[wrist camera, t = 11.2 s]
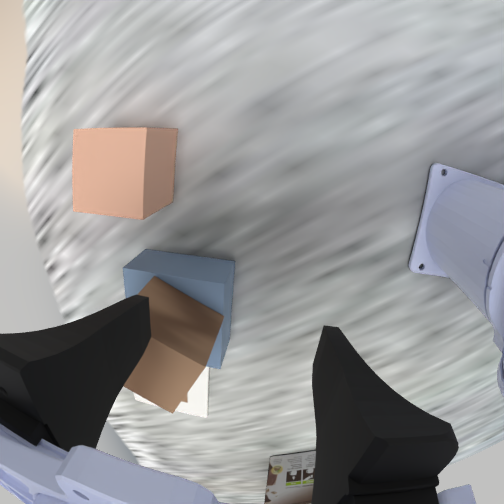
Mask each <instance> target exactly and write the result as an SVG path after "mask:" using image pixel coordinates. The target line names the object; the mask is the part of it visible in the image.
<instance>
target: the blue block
mask: <svg viewBox="0 0 504 504" xmlns="http://www.w3.org/2000/svg"><path fill="white" fill-rule="evenodd" d="M234 269H235V261H230V260H223V259H215V258H208V257H200V256H193V255H185V254H178V253H170V252H163V251H156V250H149V249H145V250H144V251H143V252H141V253H140V254H139V255H138V256H137V257H135V258H134V259H133V260H132V261H130V262H129V263H128V264H127V265H126V266H124V267H123V275H124V286H125V296H126V298H128V297H131V296H133V295H137V294H138V293H139V292H140V291H141V290H142V289H143V288H144V287H145V285H146V284H147V283H148V282H149V281H150V280H151V279H152V278H153V277H154V276H156V277H157V278H159V279H161V280H162V281H164V282H166V283H167V284H169V285H171V286H172V287H174V288H176V289H178V290H179V291H181V292H183V293H184V294H186V295H188V296H190V297H191V298H193V299H195V300H196V301H198V302H200V303H202V304H203V305H205V306H207V307H209V308H211V309H212V310H214V311H216V312H218V313H220V314H221V315H223V316H225V317H224V319H223V322H222V325H221V327H220V330H219V333H218V335H217V338H216V341H215V343H214V346H213V349H212V351H211V354H210V357H209V359H208V362H207V365H206V367H212V368H217V369H220V368H221V365H222V362H223V359H224V356H225V353H226V350H227V346H228V343H229V340H230V327H231V312H232V297H233V283H234Z"/></svg>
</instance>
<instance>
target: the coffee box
mask: <svg viewBox="0 0 504 504" xmlns="http://www.w3.org/2000/svg"><path fill="white" fill-rule="evenodd" d="M315 460H316V451H310V452H303V453H296V454H288V455H279V456H272V457H270V461H269V470H268V478H267V486H266V493H265V503H264V504H311V501H312V493H313V484H314V473H315Z"/></svg>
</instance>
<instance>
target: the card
mask: <svg viewBox="0 0 504 504" xmlns="http://www.w3.org/2000/svg"><path fill="white" fill-rule="evenodd" d="M208 394H209V367H205V369H204V370H203V372H202V373H201V374H200V376H199V377H198V379H197V380H196V381H195V383H194V384H193V386H192V387H191V388H190V390H189V391H188V393H187V394H186V395H185V397H184V398H183V400H182V401H181V402H180V404H179V405H178V407H177V408H176V409H175V411H178V412H182V413H186V414H190V415H195V416H199V417H204V418H207V417H208ZM134 396H135V400H138V401H141V402H144V403H148V404H151V405H155V406H158V405H156V404H154V403H152V402H150V401H148V400H147V399H145V398H143V397H141V396H139V395H138V394H136V393H134Z"/></svg>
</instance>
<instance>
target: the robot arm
mask: <svg viewBox="0 0 504 504" xmlns="http://www.w3.org/2000/svg"><path fill="white" fill-rule="evenodd" d="M442 169H444V170H445V174H444V175H442V174H441V171H442ZM421 264H423V267H422V268H419V266H420V265H421ZM409 269H410V270H411V271H412V272H415V273H422V274H429V275H435V276H442V277H449V278H451V279H452V281H453V282H454V283H455V284H456V285H457V286H458V287H459V288H460V289H461V290H462V291H463V292H464V293H465V294H466V295H467V297H468V298H469V299H470V300H471V301H472V302H473V303H474V304H475V305H476V307H477V308H478V309H479V310H480V311H481V312H482V313H483V315H484V316H485V317H486V318H487V319H488V320H489V322H490V323H491V324H492V326H493V328H494V338H493V342H494V343H495V344H496V345H497V347H498V348H499V349H500V351H501V352H502V353H503V355H502V357H501V360H500V362H499V365H498V370H497V380H498V386H499V388H500V391H501V393H502V395H503V397H504V185H502V184H500V183H497V182H494V181H491V180H489V179H486V178H483V177H480V176H477V175H474V174H471V173H468V172H465V171H462V170H459V169H455V168H452V167H449V166H446V165H442V164H439V163H434V164H433V165H432V166H431V169H430V174H429V180H428V185H427V190H426V195H425V200H424V205H423V210H422V214H421V219H420V223H419V227H418V231H417V235H416V239H415V243H414V247H413V250H412V254H411V258H410V261H409ZM150 339H151V324H150V308H149V297H146V296H141V295H133V296H131V297H128V298H126V299H124V300H122V301H120V302H117V303H115V304H113V305H111V306H109V307H107V308H105V309H103V310H100V311H98V312H96V313H94V314H91V315H89V316H86V317H84V318H82V319H79V320H76V321H73V322H71V323H67V324H64V325H61V326H57V327H53V328H48V329H44V330H39V331H33V332H25V333H13V334H0V485H1V486H3V487H4V488H5V489H7V490H8V491H9V492H10V493H12V494H13V495H14V496H16V497H17V498H18V499H20V500H21V501H22V502H24V503H25V504H228V503H223V502H218V500H217V499H216V497H215V496H214V494H213V493H212V492H211V491H210V490H208V489H206V488H205V487H203V486H201V485H200V484H198V483H196V482H193V481H190V480H187V479H184V478H181V477H178V476H175V475H171V474H167V473H164V472H160V471H157V470H153V469H150V468H147V467H144V466H141V465H138V464H134V463H132V462H129V461H126V460H123V459H120V458H118V457H115V456H112V455H110V454H107V453H105V452H102V451H100V450H97V449H96V446H97V443H98V440H99V438H100V435H101V432H102V429H103V427H104V424H105V422H106V420H107V417H108V415H109V413H110V410H111V408H112V406H113V404H114V402H115V399H116V397H117V396H118V394H119V392H120V390H121V389H122V387H123V386H124V384H125V383H126V381H127V379H128V378H129V376H130V375H131V373H132V372H133V370H134V369H135V367H136V365H137V364H138V362H139V361H140V359H141V358H142V356H143V354H144V352H145V350H146V348H147V346H148V343H149V341H150ZM312 389H313V399H314V410H315V420H316V436H317V439H316V460H315V473H314V484H313V493H312V501H311V504H476V502H475V498H474V495H473V491H472V488H471V485H469V484H468V485H464V486H460V487H456V488H451V489H447V490H444V491H442V492H440V493H438V494H437V493H436V488H435V487H436V486H438V485H439V479H438V476H437V475H438V474H439V473H440V472H441V471H442V470H443V469H444V468H445V467H446V466H447V465H448V464H449V463H450V461H451V460H452V459H453V458H454V456H455V455H456V453H457V451H458V448H459V447H458V442H457V439H456V436H455V434H454V431H453V429H452V426H451V424H450V423H448V422H445V421H443V420H441V419H439V418H437V417H435V416H432V415H430V414H429V413H427V412H425V411H423V410H422V409H420V408H418V407H416V406H415V405H413V404H412V403H410V402H409V401H407V400H406V399H405V398H403V397H402V396H401V395H399V394H398V393H396V392H395V391H394V390H393V389H392V388H390V387H389V386H388V385H387V384H386V383H385V382H384V381H383V380H382V379H380V378H379V377H378V376H377V375H376V374H375V372H374V371H373V370H372V369H371V368H370V367H369V366H368V365H367V364H366V363H365V361H364V360H363V359H362V358H361V357H360V355H359V354H358V353H357V351H356V350H355V349H354V348H353V346H352V345H351V344H350V342H349V341H348V340H347V338H346V337H345V335H344V334H343V333H342V331H341V330H340V329H339V327H332V326H323V330H322V334H321V337H320V341H319V345H318V348H317V352H316V355H315V359H314V362H313V373H312Z"/></svg>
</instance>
